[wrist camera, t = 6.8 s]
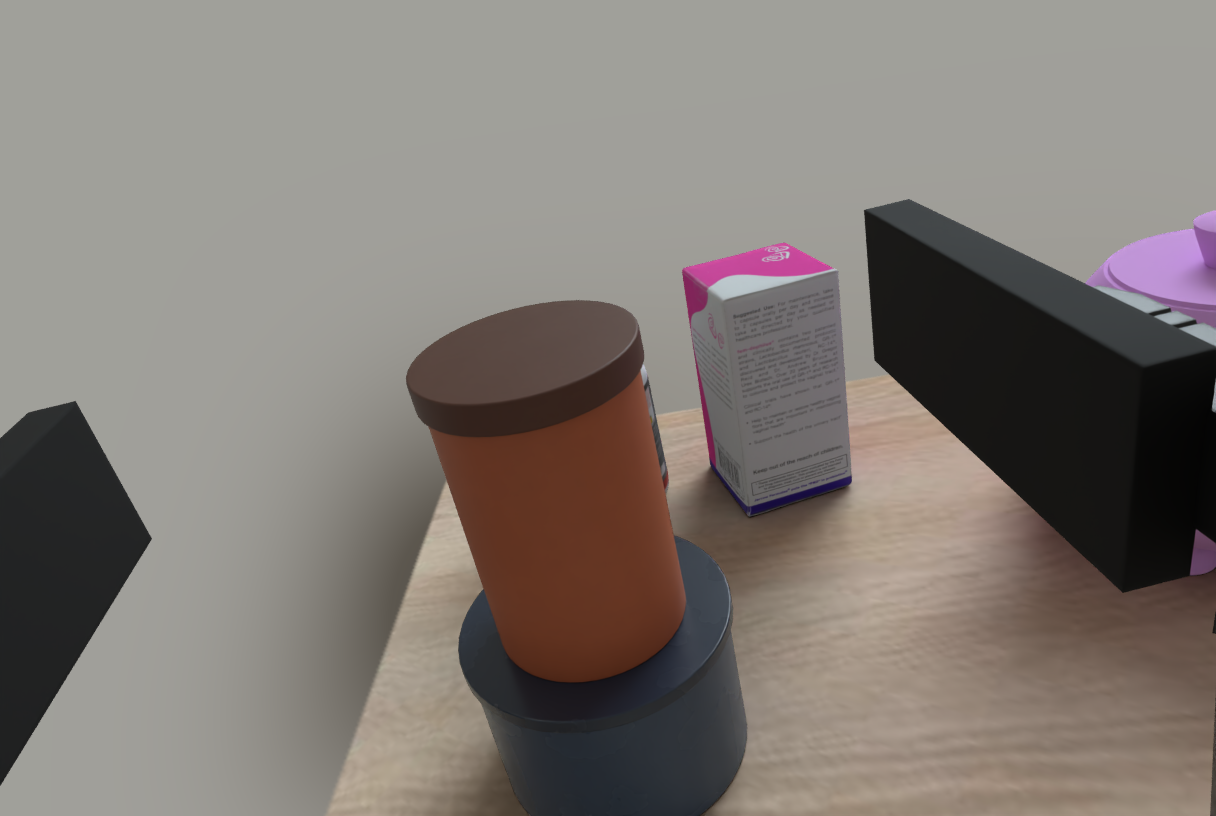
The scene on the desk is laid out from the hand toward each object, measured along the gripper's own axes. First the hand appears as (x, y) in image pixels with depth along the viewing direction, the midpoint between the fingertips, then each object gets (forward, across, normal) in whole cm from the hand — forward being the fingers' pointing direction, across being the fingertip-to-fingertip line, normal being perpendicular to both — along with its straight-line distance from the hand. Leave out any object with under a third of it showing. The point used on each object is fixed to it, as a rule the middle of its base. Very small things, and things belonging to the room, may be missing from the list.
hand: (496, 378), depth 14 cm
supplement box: (+24, +10, -20) cm, 33 cm away
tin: (+10, 0, -19) cm, 22 cm away
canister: (+10, 0, -13) cm, 17 cm away
